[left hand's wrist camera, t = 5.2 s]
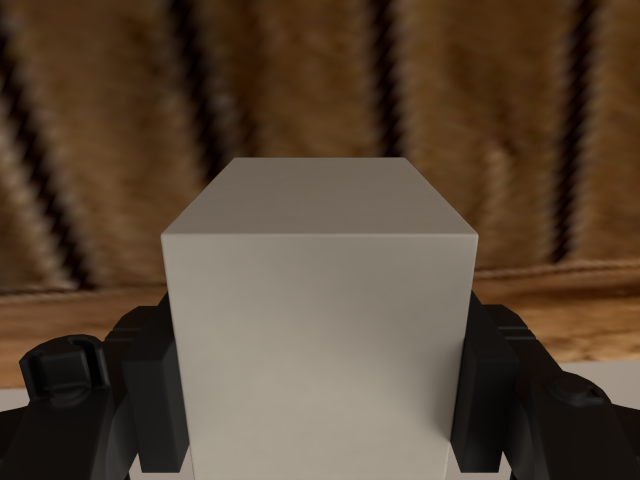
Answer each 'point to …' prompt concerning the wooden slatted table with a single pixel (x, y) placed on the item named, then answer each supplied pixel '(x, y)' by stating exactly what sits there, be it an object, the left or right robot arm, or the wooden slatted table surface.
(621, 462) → the left robot arm
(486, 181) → the wooden slatted table surface
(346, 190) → the brick
